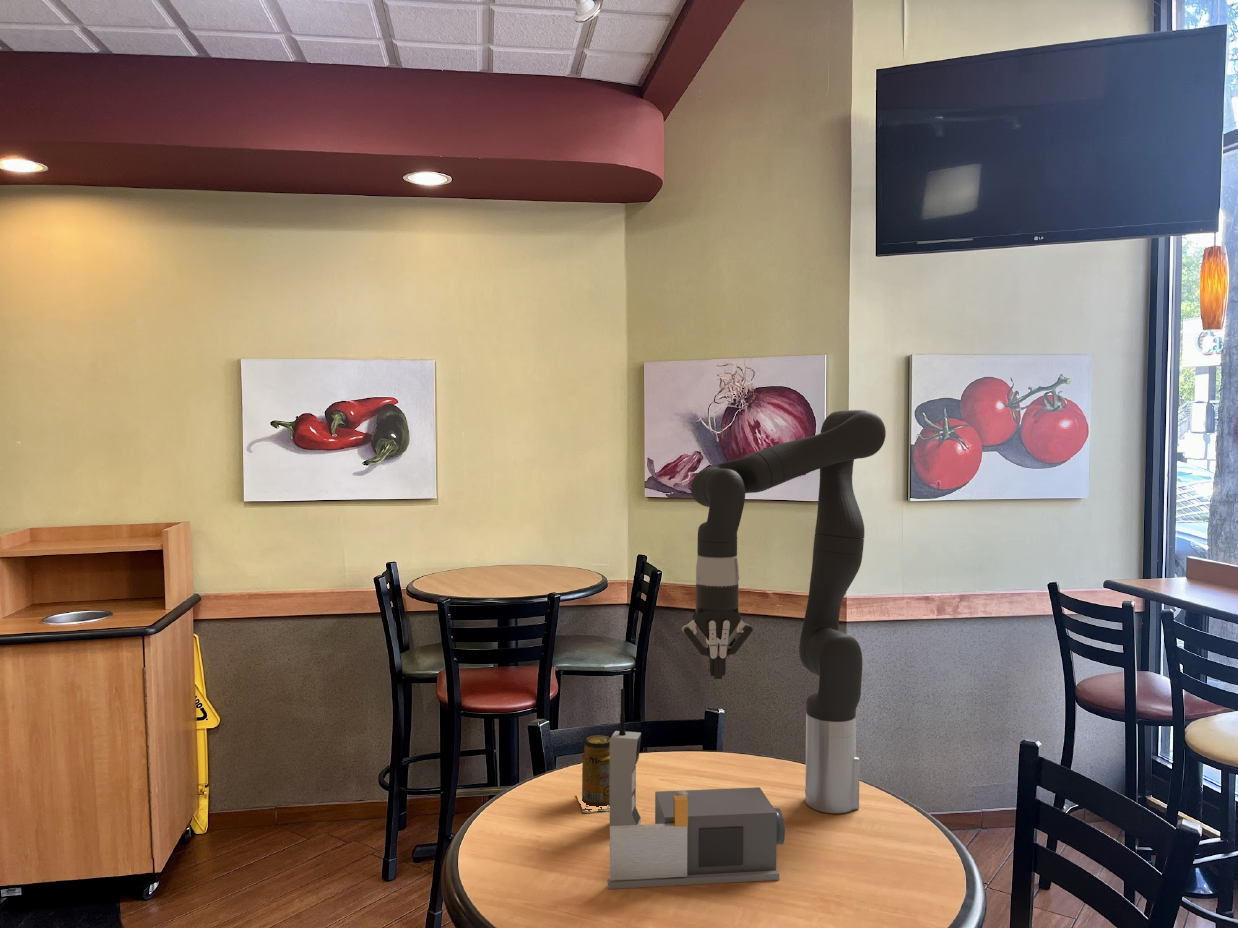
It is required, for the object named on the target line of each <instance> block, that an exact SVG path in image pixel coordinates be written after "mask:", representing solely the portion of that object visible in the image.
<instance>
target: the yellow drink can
mask: <svg viewBox="0 0 1238 928" xmlns="http://www.w3.org/2000/svg"><path fill="white" fill-rule="evenodd" d="M610 738H611V737H609V736H606V735H601V734H599V735H591V736H588V737H586V738H585V739H584V747H583V749H584V751H583V753H582V755H581V756H582V759H581V762H582V764H581V765H582V766H581V770H582V771H581V772H582V773H581V774H582V775H581V777H582V778H581V780H582V781H581V783H582V784H581V787H582V788H581V794H582V801H583V802H584V803H586V805H589V806H596V807H599V806H607V805H610ZM580 805H581V804H579V806H580ZM600 808H601V809H598V811H607V812H610V808H608V807H607V809H602V807H600ZM581 810H582V813H585V814H587V813H588V814H589V813H591V814H592V813H598V812H597V811H595V812H591V811H590V810H592V809H586V808H585V809H581ZM585 810H588V811H589V812H587V811H585Z"/></svg>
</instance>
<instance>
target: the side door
mask: <svg viewBox="0 0 1238 928" xmlns="http://www.w3.org/2000/svg"><path fill="white" fill-rule="evenodd" d="M687 826H688V799H687V796H686V795H680V796H673V823H668V824H655V823H650V824H649V823H648V824H647V823H646V824H640V825H623V826H610V825H609V879H610V881H611V880H630V879H650V878H669V877H687Z"/></svg>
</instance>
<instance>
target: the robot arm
mask: <svg viewBox="0 0 1238 928" xmlns="http://www.w3.org/2000/svg"><path fill="white" fill-rule="evenodd" d="M886 435H887V433H886V425H885V423H884V422H883V420H882V418H881V417H880V416H879V415H878V414H876V413H874V412H872V411H869V410H865V409H860V410H859V409H851V410H849V409H848V410H838V411H833V412H832V413H829V414H828V416H827V417H826V418H825V419H824V421H823V422H822V425H821V429H820V433H818V434H815V435H812V436H808V437H804V438H799V439H796V440H791V441H787V442H782V443H778V444H774V445H771V446H769V447H766V448H763V449H761V450H758V451H755V452H753V453H750V454H748V455H747V456H744V457H740V458H739V459H733V460H728V461H725V462H720V463H718V464H714V465H711V466H708V467H706V468H703V469H702V470H699V472H698V473H697V474H695V476H694V477H693V479H692V480H691V484H690V492H691V495H692V498H693V500H695V502H696V503H697V504H699V505H701V506H703V507H706V508H708V514H707V519H706V521H705V522H702V523H701V524H700V525H698V529H697V548H696V549H697V560H696V564H695V611H694V613H693V615H692V620H691V621H689V623H687V624H683V625H682V626H681V630H682V632H683V633H684V635H685V636H686V637H687V638H688V640H689V641H690V642H691V643H692V645H693V646H694V647H695V648H696V650H697V651H698V652H699V654H700V655H701V656H706V657H707V669H708V670H707V672H708V674H709V676H711V678H712V679H713V680H722V679H723V677H724V676H725V675H726V672H727V671H726V664H727V663H726V660H727V658H728V657H729V656H731V655H733V656H734V655H736V653H737V652H738V651H739V649H740V648H741V646H742V645H743V644H744V643H745V642H746V640H747V639H748V638H749V636H750V635H751V634H752V633H753V627H752V626H751V625H750V624H749V623H746V622H744V621H743V620H742V616H741V613H740V611H739V581H740V574H739V573H740V572H739V563H738V562H739V561H738V531H739V526H740V524H741V519H742V515H743V511H744V507H745V501H746V494H753V493H754V494H756V493H760V492H761V493H762V492H764V491H767V490H769V489H772V488H774V487H776V486H779V485H781V484H784V483H785V482H788V481H791V480H794V479H796V478H798V477H802V476H804V475H806V474H808V473H812V472H815V471H816V470H819V487H818V488H819V489H818V501H817V513H816V522H815V529H814V538H813V546H812V547H813V549H812V560H811V561H812V563H811V573H810V581H809V589H808V590H809V591H808V598H807V604H806V608H805V614H804V619H803V624H802V628H801V631H800V633H801V634H800V639H799V645H798V652H799V653H798V654H799V659H800V660H799V661H800V662H801V664H802V666H803V667H804V668H805V669H806V670H807V671H808V672H810V673H813V674H815V675H816V676H819V679H818V691H817V693H813V694H811V695H809V696H808V697H807V698H806V704H805V789H804V790H805V791H804V793H805V804H806V805H807V806H808V807H809V808H811V809H813V810H815V811H818V812H822V813H825V814H826V813H827V814H845V813H849V812H851V811H854V810H860V764H861V763H860V760H861V759H860V757H858V756H857V755H856V754H857V753H856V752H857V751H856V749H857V748H856V747H857V746H856V745H857V744H856V739H857V738H856V733H857V722H856V721H857V708H858V705H859V703H860V700H861V695H862V694H861V693H862V680H863V679H862V677H863V653H862V648H861V645H860V644H859V642H858V641H857V639H856V638H855V637H853V636H852V635H850V634H848V633H845V632H843V631H840V630H839V626H840V625H839V623H840V615H841V606H842V603H843V600H844V597H845V596H846V593H847V591H848V590H849V588H850V586H851V585H852V583H853V582H854V580H855V579H856V576H857V574H858V572H859V571H860V568H861V566H862V560H863V554H864V544H865V523H864V520H863V516H862V512H861V510H860V507H859V503H858V501H857V499H856V495H855V491H854V487H853V486H854V485H853V473H854V472H853V470H854V461H855V460H858V459H866V458H869V457H870V458H871V457H872V456H874V455H875V454H876V453H877V454H878V452H879V451H880V450H881V448H882V447H883V446H884V443H885V441H886ZM696 627H697V628H698V629H699V631H700V632H701V633H702V634H703V636H704V637H705V642H706V646H705V645H703V644H702V642H701V641H700V640H699V638H698V637H697V636H696V634H698V633H697V632H698V631H697V628H696ZM735 630H736V632H737V633H736V634H735V635H734V636H733V638H732V639H731V641H729V637H730V636H731V635H732V634H733V632H734V631H735Z"/></svg>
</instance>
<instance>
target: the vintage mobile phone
mask: <svg viewBox="0 0 1238 928" xmlns="http://www.w3.org/2000/svg"><path fill="white" fill-rule="evenodd" d="M625 718H626V716H625V688H620V717H619V730H615V731H614V732H613V733H612V735H611V737H609V738H610V811H609V827H610V826H623V825H641V824H642V820H641V819H642V818H641V815H640V813H639V812H638V809H637V805H636V800H637V799H636V795H637V794H636V792H637V791H636V787H637V783H636V782H637V781H636V779H637V778H636V777H637V775H636V773H637V772H636V770H637V766H636V765H637V763H638V761H639V758H640V748H641V736H642V732H637V731H626V730H625V729H626V724H625V723H626V722H625V721H626V719H625Z"/></svg>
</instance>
